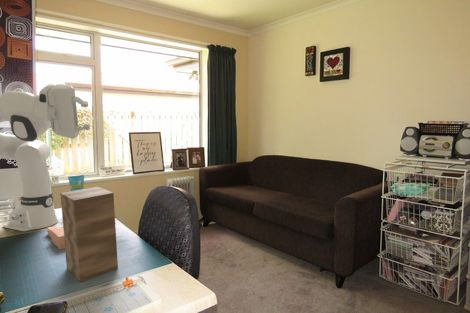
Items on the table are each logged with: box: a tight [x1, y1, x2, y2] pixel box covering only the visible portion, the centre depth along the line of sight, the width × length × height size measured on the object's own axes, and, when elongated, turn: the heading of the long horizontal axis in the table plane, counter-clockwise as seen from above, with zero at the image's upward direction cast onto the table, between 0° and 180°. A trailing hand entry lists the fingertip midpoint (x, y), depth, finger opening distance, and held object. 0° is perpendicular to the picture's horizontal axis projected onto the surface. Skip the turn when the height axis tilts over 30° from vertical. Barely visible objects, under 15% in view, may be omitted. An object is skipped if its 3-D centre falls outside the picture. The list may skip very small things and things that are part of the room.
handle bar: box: [46, 225, 65, 250], centre depth 127 cm, size 20×5×5 cm, turn 45°
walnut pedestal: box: [60, 186, 119, 283], centre depth 102 cm, size 12×12×26 cm
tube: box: [67, 174, 85, 191], centre depth 162 cm, size 7×5×19 cm, turn 123°
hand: (88, 116), depth 112 cm, fingers open, 8 cm apart
